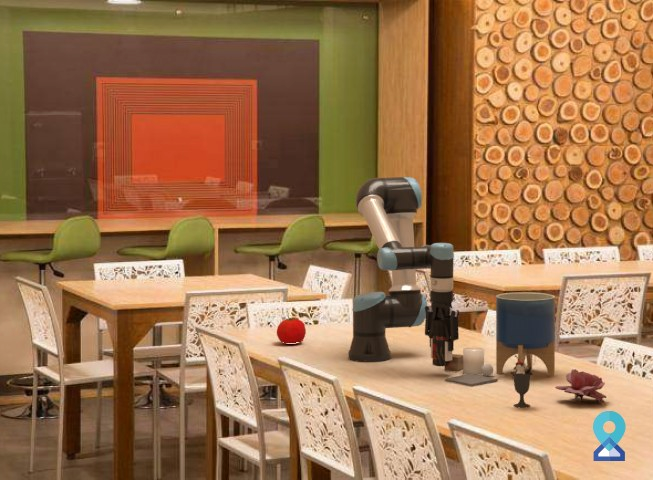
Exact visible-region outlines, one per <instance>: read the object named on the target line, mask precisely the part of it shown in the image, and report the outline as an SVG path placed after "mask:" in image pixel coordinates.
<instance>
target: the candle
mask: <svg viewBox="0 0 653 480" xmlns="http://www.w3.org/2000/svg"><path fill="white" fill-rule="evenodd" d="M462 355H463V370H462V374H463V375H466V374H474V375H480V376H482V375H483V374H482V372H481V368H482V366H483V365H485V348H482V347H465V348H463V349H462Z"/></svg>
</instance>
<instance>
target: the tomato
mask: <svg viewBox="0 0 653 480" xmlns="http://www.w3.org/2000/svg"><path fill="white" fill-rule="evenodd" d="M287 317H288V318H285V319H284V320H282V321H280V323H279V324H278V326H277V329H276V336H277V338H278V340H279V341H280V342H281V343H282V342H284V343H296V342H300V343H302V342H304V340H305V338H306V335H307V334H306V333H307V332H306V331H307V330H306V326H305V323H304V322H303V321H302V320H300V319H299V317H298V318H297V317H296V318H291V317H290V316H287ZM284 343H283V344H284Z"/></svg>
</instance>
